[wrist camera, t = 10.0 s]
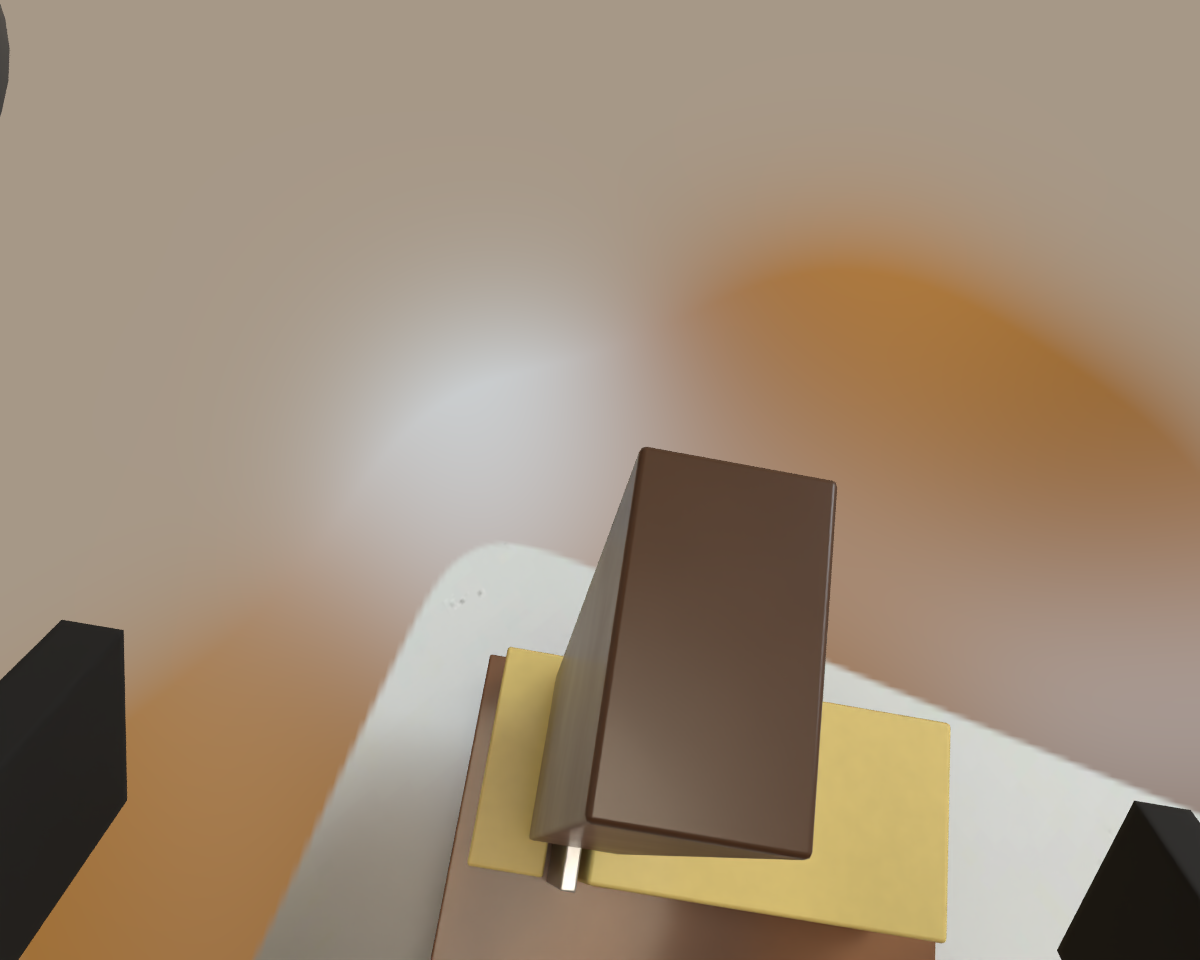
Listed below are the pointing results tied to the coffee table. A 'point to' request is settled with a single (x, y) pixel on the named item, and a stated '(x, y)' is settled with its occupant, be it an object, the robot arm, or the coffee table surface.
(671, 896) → the butter
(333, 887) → the coffee table surface
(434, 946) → the board
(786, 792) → the knife
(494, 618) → the coffee table surface
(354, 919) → the coffee table surface
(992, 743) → the coffee table surface
